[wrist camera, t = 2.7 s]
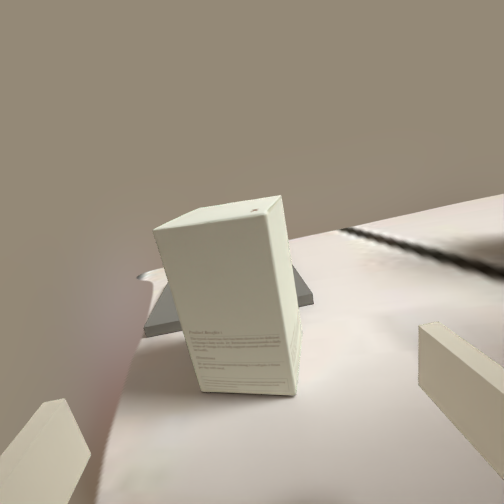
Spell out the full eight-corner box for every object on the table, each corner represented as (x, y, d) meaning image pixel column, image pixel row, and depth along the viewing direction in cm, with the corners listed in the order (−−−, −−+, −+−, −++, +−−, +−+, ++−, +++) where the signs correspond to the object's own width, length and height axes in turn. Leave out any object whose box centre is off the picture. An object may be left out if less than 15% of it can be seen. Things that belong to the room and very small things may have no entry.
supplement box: (304, 333, 25) (285, 192, 21) (297, 399, 18) (267, 211, 14) (228, 333, 27) (199, 206, 23) (196, 393, 20) (147, 227, 17)
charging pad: (286, 262, 43) (285, 254, 42) (313, 303, 29) (312, 292, 29) (172, 284, 42) (170, 276, 42) (146, 337, 29) (143, 326, 29)
